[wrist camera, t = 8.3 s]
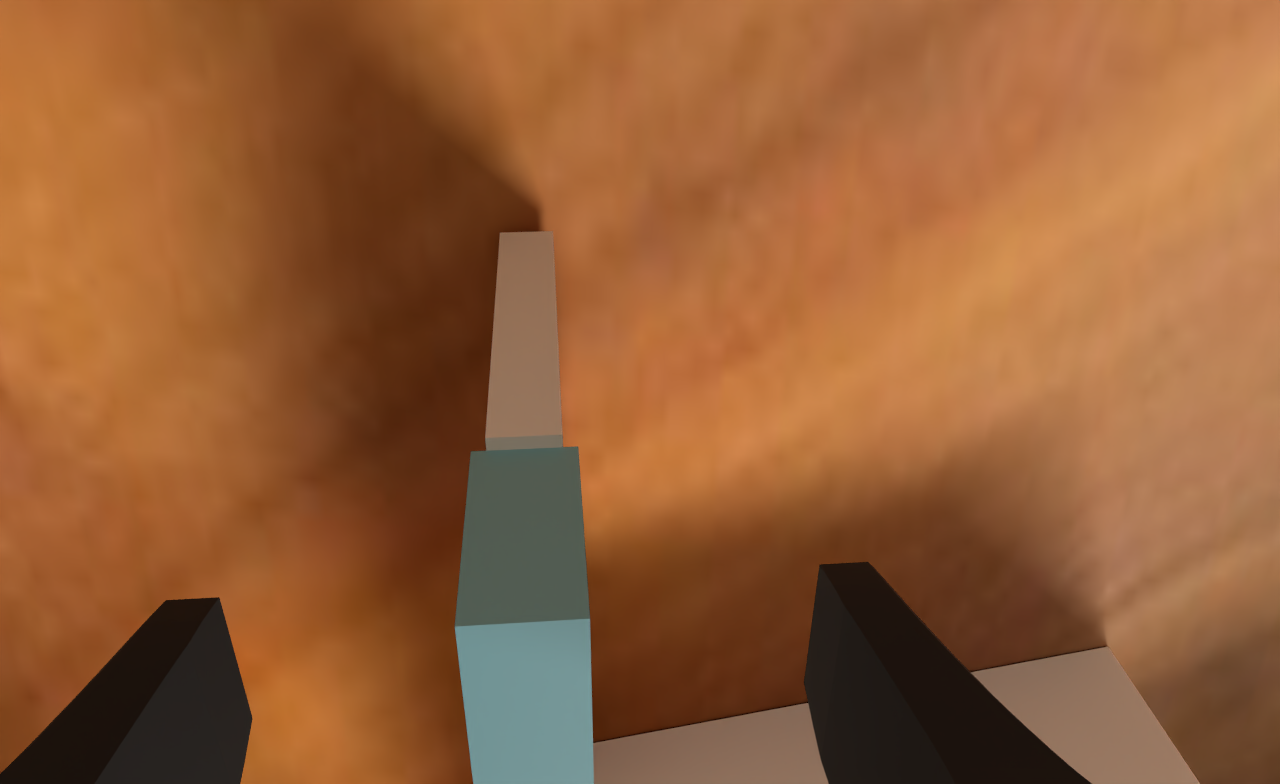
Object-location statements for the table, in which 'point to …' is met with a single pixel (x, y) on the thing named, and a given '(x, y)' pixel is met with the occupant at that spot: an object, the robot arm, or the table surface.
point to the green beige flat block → (525, 550)
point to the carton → (1032, 691)
